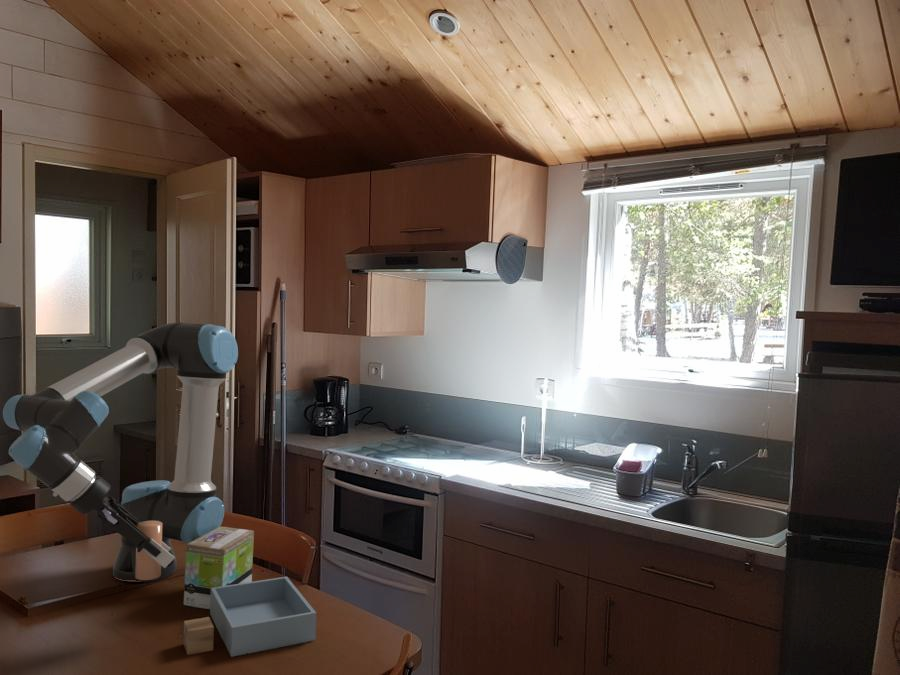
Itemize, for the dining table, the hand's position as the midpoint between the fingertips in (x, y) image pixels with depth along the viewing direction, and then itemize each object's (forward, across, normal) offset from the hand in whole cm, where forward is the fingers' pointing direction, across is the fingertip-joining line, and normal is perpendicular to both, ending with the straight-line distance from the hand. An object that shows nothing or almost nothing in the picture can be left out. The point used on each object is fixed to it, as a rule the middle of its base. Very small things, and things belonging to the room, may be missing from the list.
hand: (167, 557), depth 156 cm
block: (+15, +10, -8) cm, 20 cm away
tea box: (+21, -14, -2) cm, 26 cm away
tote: (+25, +6, +2) cm, 26 cm away
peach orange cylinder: (0, 0, -5) cm, 5 cm away
